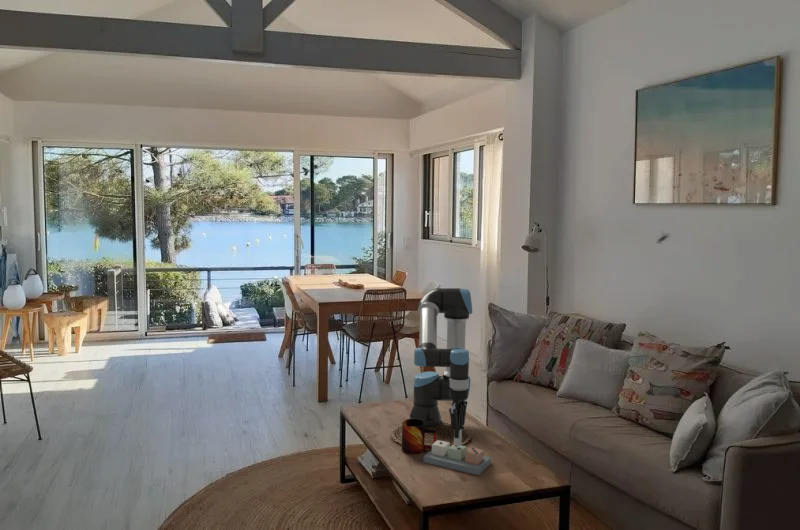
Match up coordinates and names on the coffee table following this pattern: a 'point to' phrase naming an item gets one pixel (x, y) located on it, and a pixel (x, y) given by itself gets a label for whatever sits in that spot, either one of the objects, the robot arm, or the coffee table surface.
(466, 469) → the keypad board
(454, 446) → the key two
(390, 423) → the coffee table surface
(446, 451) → the key one
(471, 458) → the key three
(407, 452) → the mug
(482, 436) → the coffee table surface
